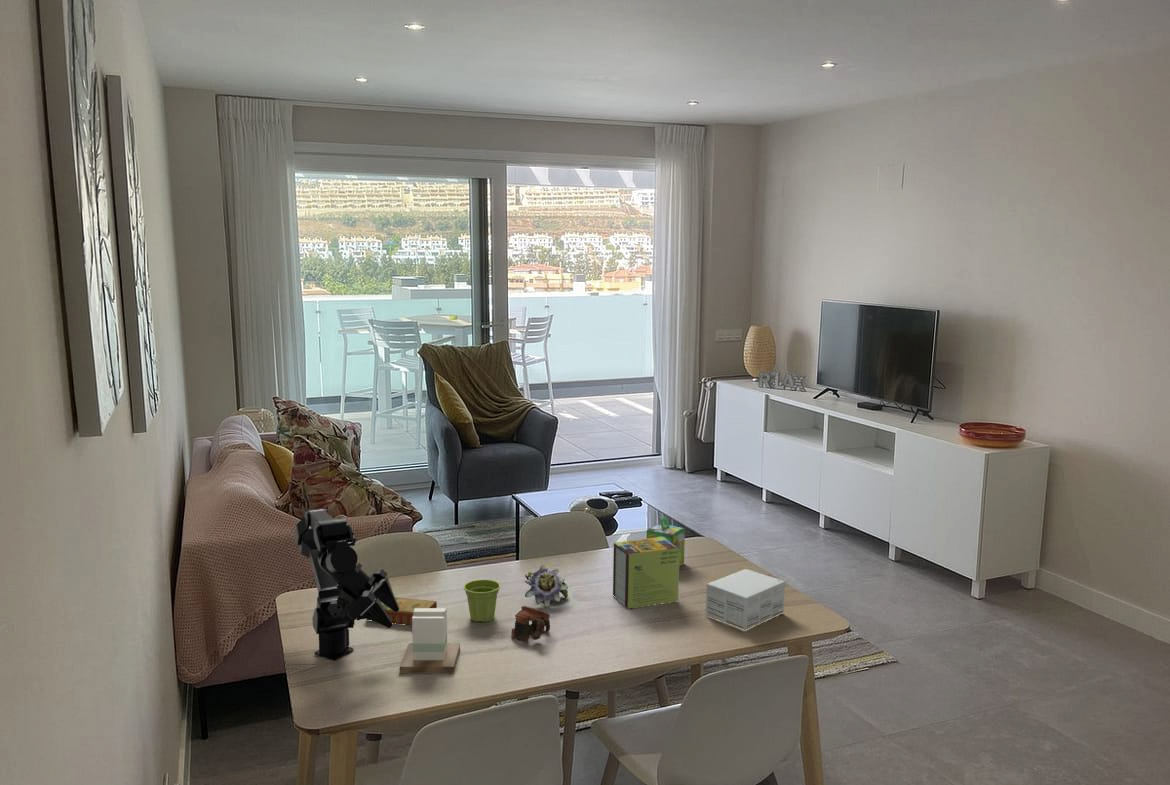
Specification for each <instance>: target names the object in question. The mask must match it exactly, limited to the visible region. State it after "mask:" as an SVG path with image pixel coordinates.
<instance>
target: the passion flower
mask: <svg viewBox="0 0 1170 785" xmlns="http://www.w3.org/2000/svg"><path fill="white" fill-rule="evenodd" d="M548 569H549V568H547V567H546V565H545V564H543V563H542V564H541V565H540V567H539V569H538V570H536V572H530V571H528V574H527V573H525V574H524V577H525V578H526V580H524V582H525V584H527V585H528V586H530V589H528V590H527V591H526V592H525V593H524V597H526V598H531V597H533V596H534V597H535V603H536V605H538V606H539V605H540V604H543V606H544V608H548V607H549V606H550V603H551V600H552V599H553V600H554V601H555V602H557V603H560V600H561V597H560V593H561V594H562V596H563V597H564V599H565V600H566V598H567V599H568V598H569V594H568V593H569V592H568V589H569V587H568V584H566V583H565V580H566V578H565V577H560V576H559V575H558V574H559V568H555V569H553V570H552V571H551V570H548Z"/></svg>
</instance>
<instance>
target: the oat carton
mask: <svg viewBox="0 0 1170 785" xmlns="http://www.w3.org/2000/svg"><path fill="white" fill-rule="evenodd" d="M447 611H448V609H447V608H446V607H444V608H443V607H437V608H415V609H414V611H413V617H412V626H411V628H412V629H411V630H412V631H411V632H412V634H411V635H412V652H413V660H444V659H445V655H446V652H447V643H448V620H447V619H448V617H447V616H448V614H447V613H448V612H447Z"/></svg>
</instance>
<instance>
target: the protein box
mask: <svg viewBox="0 0 1170 785" xmlns="http://www.w3.org/2000/svg"><path fill="white" fill-rule="evenodd" d="M679 552H680V548H679V547H678V546H676V545H675V544H673V543H672V542H670V541H668V540H667V539H665V538H664V537H656V538H648V539H647V538H641V539H634V540H623V541H617V542H613V565H612V568H613V569H612V571H613V572H612V574H613V577H612V596H613V595H614V596H615V597H616V598H617V599H618V600H619V601H620V602H621V603H622V604H623V607H624V608H626V609H627V610H631V609H630V608H633V609H636V608H635V607H640V608H643V607H642V606H647V607H649V606H648V605H654V604H661V603H668V604H670V603H669V602H675V603H677V602H676V601H678V602H679V585H680V584H679V580H680V566H679ZM614 596H613V597H614ZM615 597H614V598H615ZM616 598H615V599H616ZM617 599H616V600H617ZM618 600H617V601H618ZM619 601H618V602H619ZM620 602H619V603H620ZM621 603H620V604H621ZM622 604H621V605H622ZM661 605H662V604H661ZM654 606H655V605H654Z"/></svg>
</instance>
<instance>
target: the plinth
mask: <svg viewBox="0 0 1170 785" xmlns="http://www.w3.org/2000/svg"><path fill="white" fill-rule="evenodd" d="M412 643H413V642H412ZM412 643H410V642H408V644H407V647H406V650H405V652H404V654H403V656H402V659H401V662H400V664H399V674H454V673H455V671H456V670H455V669H456V666H457V662H458V658H459V655H460V651H461V643H460V642H459V643H456V642H455V643H451V642H450V643H448V642H447V652H446V655H445V659H444V660H413V652H412Z"/></svg>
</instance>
